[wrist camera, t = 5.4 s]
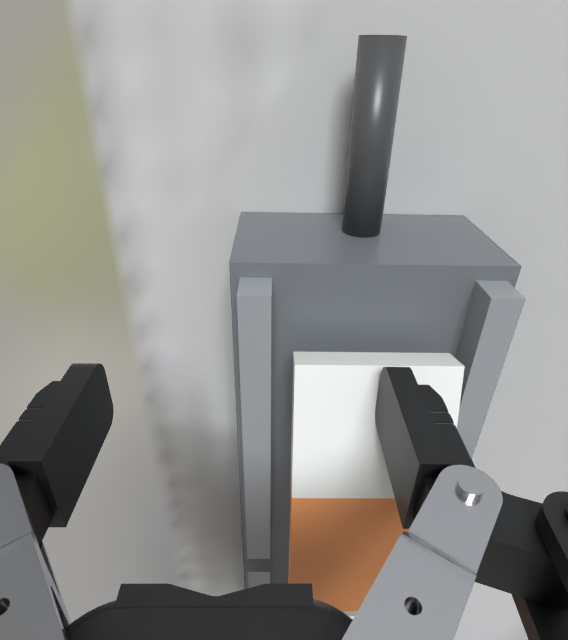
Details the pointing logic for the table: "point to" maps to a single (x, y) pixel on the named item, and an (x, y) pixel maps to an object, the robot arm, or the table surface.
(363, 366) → the rocker
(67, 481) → the robot arm
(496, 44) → the table surface
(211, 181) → the table surface
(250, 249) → the box
